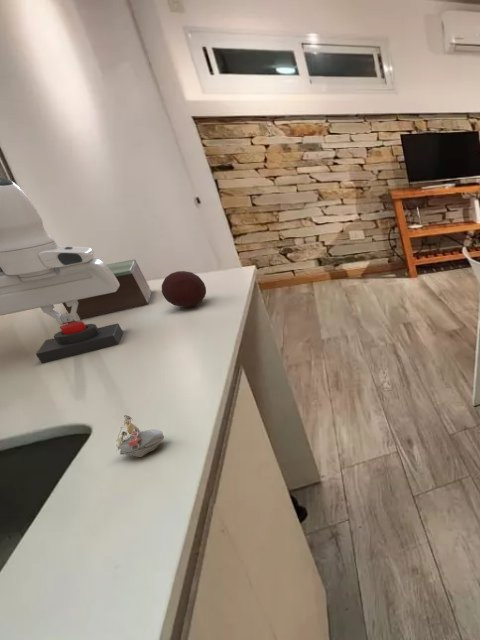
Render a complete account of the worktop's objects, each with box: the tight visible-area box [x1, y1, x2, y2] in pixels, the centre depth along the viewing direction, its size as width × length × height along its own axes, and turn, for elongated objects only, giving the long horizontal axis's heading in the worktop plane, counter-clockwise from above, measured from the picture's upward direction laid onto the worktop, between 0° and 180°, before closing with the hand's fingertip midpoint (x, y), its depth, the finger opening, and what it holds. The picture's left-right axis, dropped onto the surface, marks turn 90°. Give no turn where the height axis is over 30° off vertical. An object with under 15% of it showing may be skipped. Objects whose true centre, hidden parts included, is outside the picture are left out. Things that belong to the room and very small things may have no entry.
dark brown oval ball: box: [161, 270, 207, 308], centre depth 121 cm, size 9×12×9 cm
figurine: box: [115, 414, 165, 458], centre depth 67 cm, size 5×4×6 cm
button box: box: [35, 322, 124, 364], centre depth 103 cm, size 12×9×4 cm
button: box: [59, 320, 87, 335], centre depth 102 cm, size 4×4×2 cm
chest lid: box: [106, 259, 137, 277], centre depth 124 cm, size 15×15×1 cm
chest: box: [61, 261, 153, 320], centre depth 126 cm, size 14×15×9 cm
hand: (70, 322), depth 102 cm, fingers closed
